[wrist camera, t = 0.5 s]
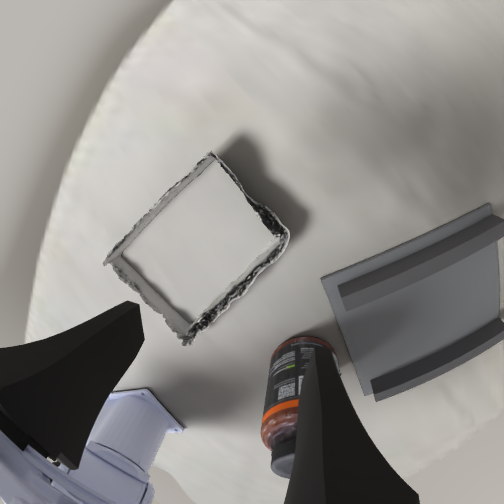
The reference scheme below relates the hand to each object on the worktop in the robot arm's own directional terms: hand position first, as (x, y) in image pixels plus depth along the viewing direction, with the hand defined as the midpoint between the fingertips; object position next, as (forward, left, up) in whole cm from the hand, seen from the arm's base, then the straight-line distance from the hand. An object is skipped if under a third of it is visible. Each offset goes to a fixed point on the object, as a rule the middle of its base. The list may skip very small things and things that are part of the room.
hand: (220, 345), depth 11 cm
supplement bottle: (0, -11, -11) cm, 16 cm away
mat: (+12, -11, -11) cm, 19 cm away
